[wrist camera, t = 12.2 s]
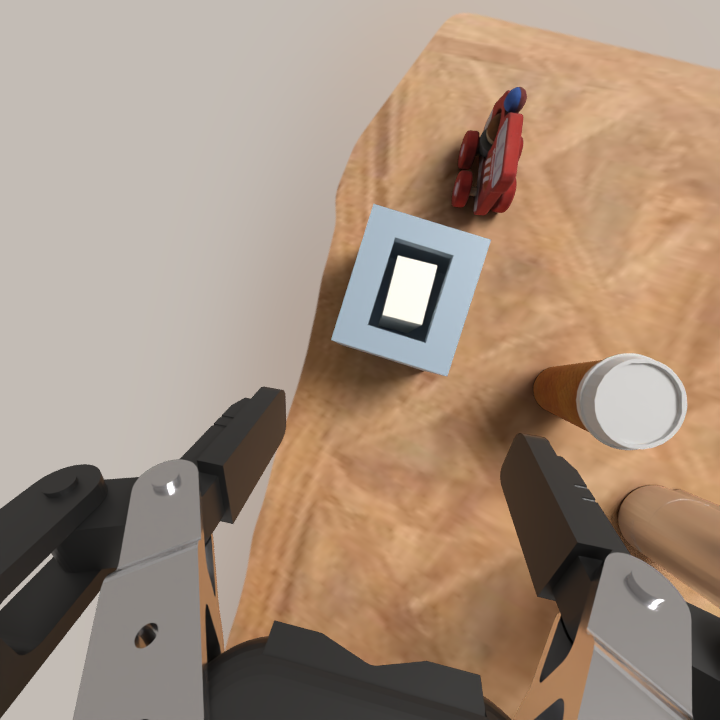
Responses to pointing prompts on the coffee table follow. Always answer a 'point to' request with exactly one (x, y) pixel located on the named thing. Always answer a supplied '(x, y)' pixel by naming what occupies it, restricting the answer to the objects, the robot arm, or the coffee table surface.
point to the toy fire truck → (492, 157)
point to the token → (407, 295)
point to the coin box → (447, 297)
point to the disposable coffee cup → (616, 399)
